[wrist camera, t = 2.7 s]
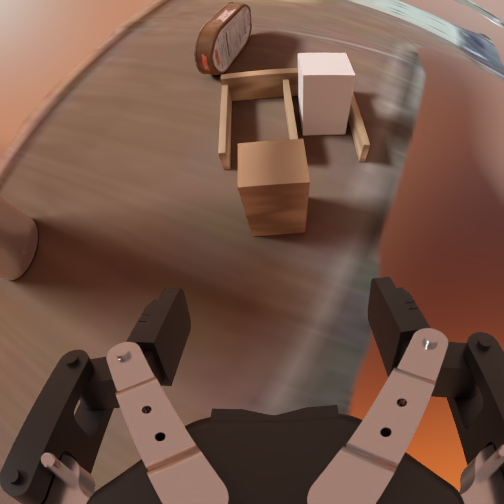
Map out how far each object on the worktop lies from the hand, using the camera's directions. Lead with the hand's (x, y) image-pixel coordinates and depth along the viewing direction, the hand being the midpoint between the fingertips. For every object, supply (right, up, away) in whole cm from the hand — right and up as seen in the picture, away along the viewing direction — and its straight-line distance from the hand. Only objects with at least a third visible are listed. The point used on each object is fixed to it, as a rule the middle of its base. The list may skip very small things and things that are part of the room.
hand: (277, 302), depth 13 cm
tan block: (+1, +6, +17) cm, 18 cm away
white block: (+7, +17, +21) cm, 28 cm away
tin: (-4, +32, +28) cm, 42 cm away
